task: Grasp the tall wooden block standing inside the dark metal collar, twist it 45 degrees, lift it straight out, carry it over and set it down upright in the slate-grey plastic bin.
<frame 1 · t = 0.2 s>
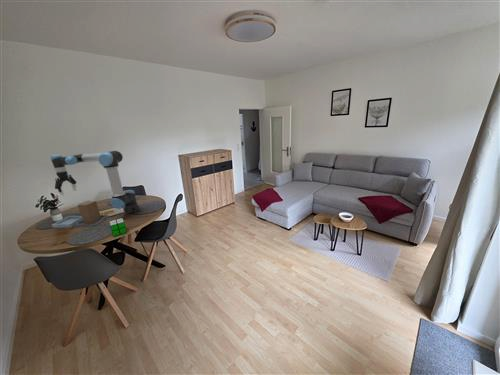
hand: (69, 192, 192), 28 cm above the table, fingers open, 13 cm apart
puzzle cube: (119, 232, 169), on the table
bin: (70, 223, 191), on the table
collar: (93, 221, 192), on the table
wooden block: (93, 221, 192), resting in collar
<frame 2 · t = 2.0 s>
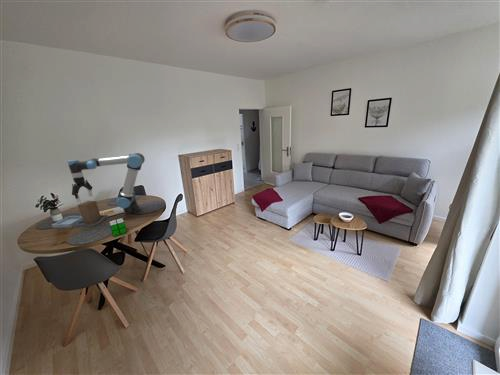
hand: (85, 198, 184), 24 cm above the table, fingers open, 13 cm apart
nothing on the table moved.
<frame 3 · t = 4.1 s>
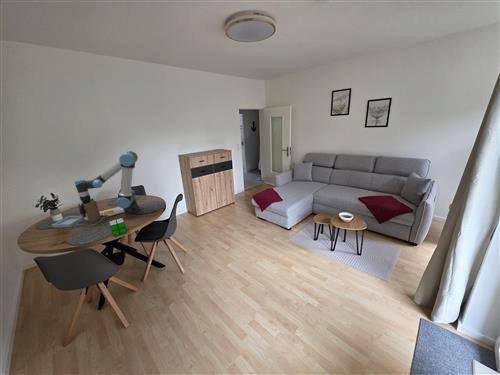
hand: (91, 217, 190), 5 cm above the table, fingers closed on wooden block, 11 cm apart
wooden block: (93, 221, 192), resting in collar, touching gripper
everything else where it was.
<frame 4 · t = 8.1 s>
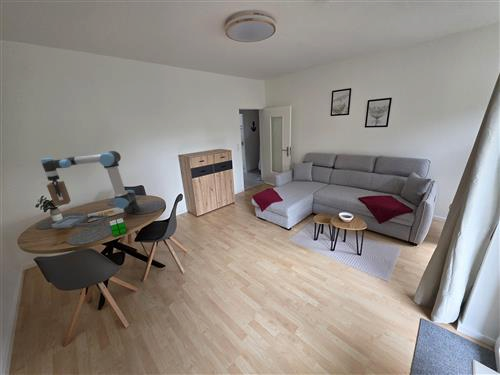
hand: (61, 198, 183), 26 cm above the table, fingers closed on wooden block, 11 cm apart
wooden block: (63, 203, 185), point 21 cm above the table, touching gripper
everything else where it was.
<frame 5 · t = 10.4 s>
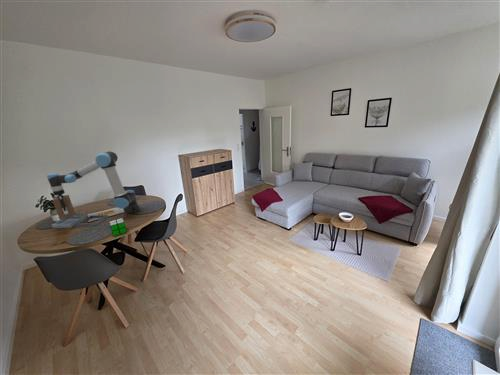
hand: (66, 212, 187), 12 cm above the table, fingers closed on wooden block, 11 cm apart
wooden block: (67, 216, 189), point 7 cm above the table, touching gripper
everything else where it was.
when the fingers open (7 cm above the table, at t = 12.0 s): wooden block drops 2 cm, resting on bin.
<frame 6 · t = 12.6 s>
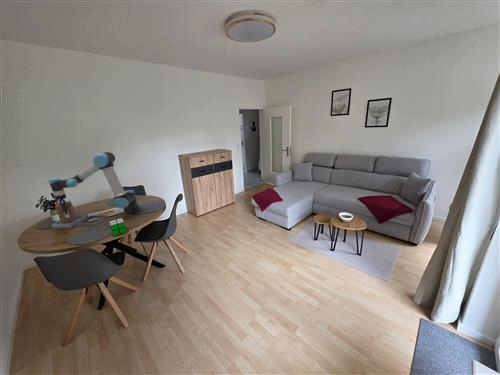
hand: (67, 215, 189), 8 cm above the table, fingers open, 13 cm apart
wooden block: (70, 222, 191), point 1 cm above the table, touching bin
everything else where it was.
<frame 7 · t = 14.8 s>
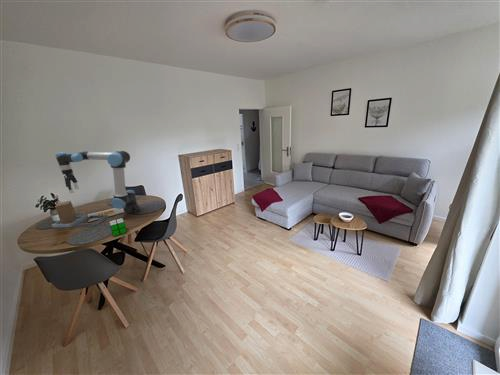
hand: (74, 191, 189), 30 cm above the table, fingers open, 13 cm apart
nothing on the table moved.
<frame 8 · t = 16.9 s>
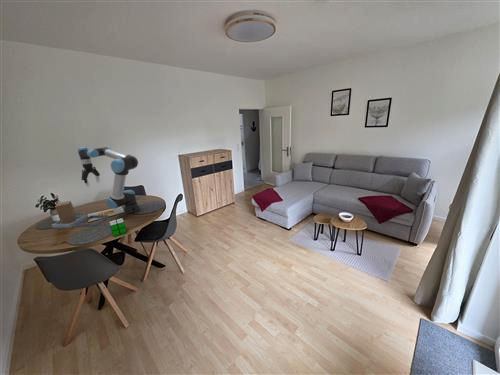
hand: (93, 184, 199), 33 cm above the table, fingers open, 13 cm apart
nothing on the table moved.
at the end: wooden block inside the target area on the bin (0.0 cm from its centre), point 0.6 cm above the bin's base; wooden block tilted 0°; wooden block touching bin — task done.
